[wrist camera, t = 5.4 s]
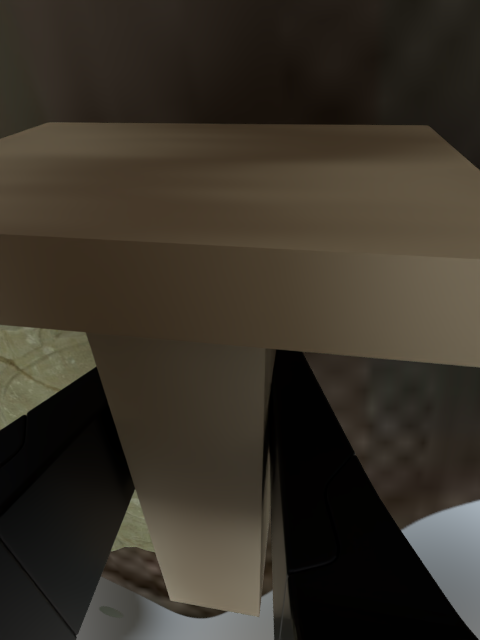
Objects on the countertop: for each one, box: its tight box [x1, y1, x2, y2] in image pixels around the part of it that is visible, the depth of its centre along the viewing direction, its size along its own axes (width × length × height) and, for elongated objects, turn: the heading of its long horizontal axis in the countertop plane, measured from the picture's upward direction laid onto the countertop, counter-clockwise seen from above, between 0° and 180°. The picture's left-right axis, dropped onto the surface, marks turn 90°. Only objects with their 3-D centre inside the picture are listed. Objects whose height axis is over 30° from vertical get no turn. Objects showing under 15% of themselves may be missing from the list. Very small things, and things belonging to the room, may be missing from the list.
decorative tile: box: [0, 325, 155, 552], centre depth 23 cm, size 19×20×4 cm
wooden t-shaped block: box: [0, 122, 480, 617], centre depth 8 cm, size 7×11×5 cm, turn 1°
